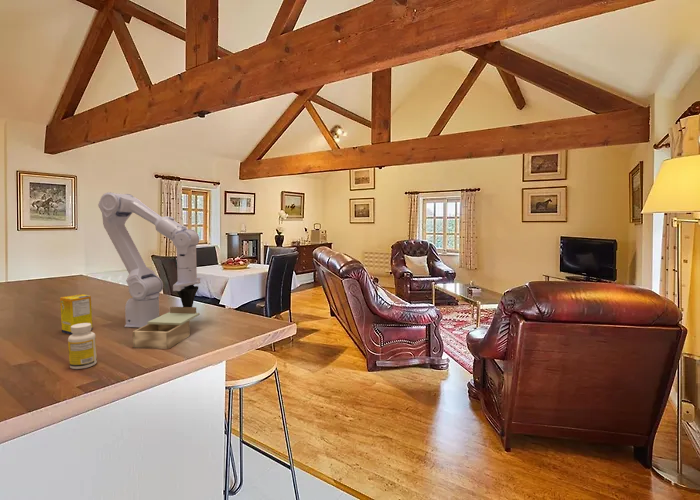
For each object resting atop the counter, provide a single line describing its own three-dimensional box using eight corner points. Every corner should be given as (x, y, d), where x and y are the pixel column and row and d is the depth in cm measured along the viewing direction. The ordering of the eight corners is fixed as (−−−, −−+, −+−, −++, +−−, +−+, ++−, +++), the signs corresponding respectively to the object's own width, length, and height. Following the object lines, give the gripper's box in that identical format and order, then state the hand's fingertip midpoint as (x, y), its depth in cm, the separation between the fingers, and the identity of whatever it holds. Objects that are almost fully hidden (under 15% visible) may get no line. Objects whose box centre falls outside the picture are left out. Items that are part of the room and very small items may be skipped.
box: (132, 347, 105) (132, 331, 105) (157, 334, 117) (156, 319, 117) (168, 348, 105) (168, 332, 104) (189, 335, 117) (189, 320, 116)
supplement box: (81, 327, 124) (80, 293, 123) (93, 330, 121) (91, 295, 120) (61, 332, 118) (59, 296, 117) (72, 335, 116) (70, 299, 115)
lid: (147, 324, 112) (147, 315, 112) (169, 313, 124) (168, 306, 124) (181, 325, 111) (180, 316, 111) (199, 314, 123) (199, 307, 123)
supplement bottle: (78, 361, 95) (76, 322, 94) (101, 360, 95) (99, 321, 95) (63, 369, 90) (61, 328, 89) (88, 369, 90) (86, 328, 89)
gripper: (188, 270, 117) (189, 314, 118) (208, 265, 132) (209, 304, 133) (165, 270, 118) (167, 314, 119) (188, 264, 132) (189, 304, 133)
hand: (187, 309), depth 126 cm, fingers closed
